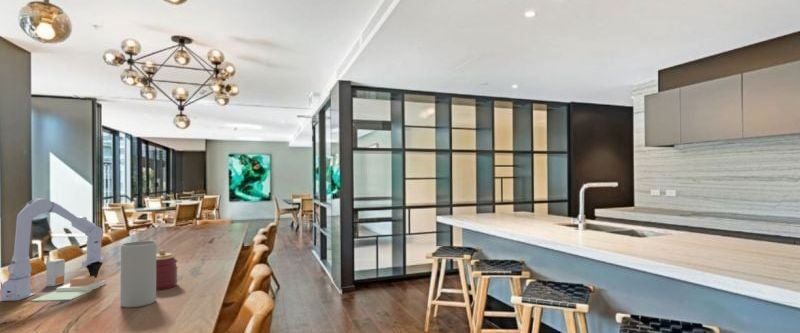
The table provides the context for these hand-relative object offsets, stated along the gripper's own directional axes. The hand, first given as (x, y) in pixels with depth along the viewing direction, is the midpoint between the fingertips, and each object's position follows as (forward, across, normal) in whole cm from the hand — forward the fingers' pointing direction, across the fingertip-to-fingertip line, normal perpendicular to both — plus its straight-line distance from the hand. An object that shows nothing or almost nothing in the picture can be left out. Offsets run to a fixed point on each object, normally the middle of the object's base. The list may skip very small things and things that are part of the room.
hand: (93, 277), depth 201 cm
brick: (+1, -8, 0) cm, 8 cm away
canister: (+3, -10, -37) cm, 38 cm away
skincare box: (+3, 0, +18) cm, 18 cm away
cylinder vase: (+3, -36, -40) cm, 54 cm away
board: (+3, -9, 0) cm, 9 cm away
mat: (+3, -21, 0) cm, 21 cm away
